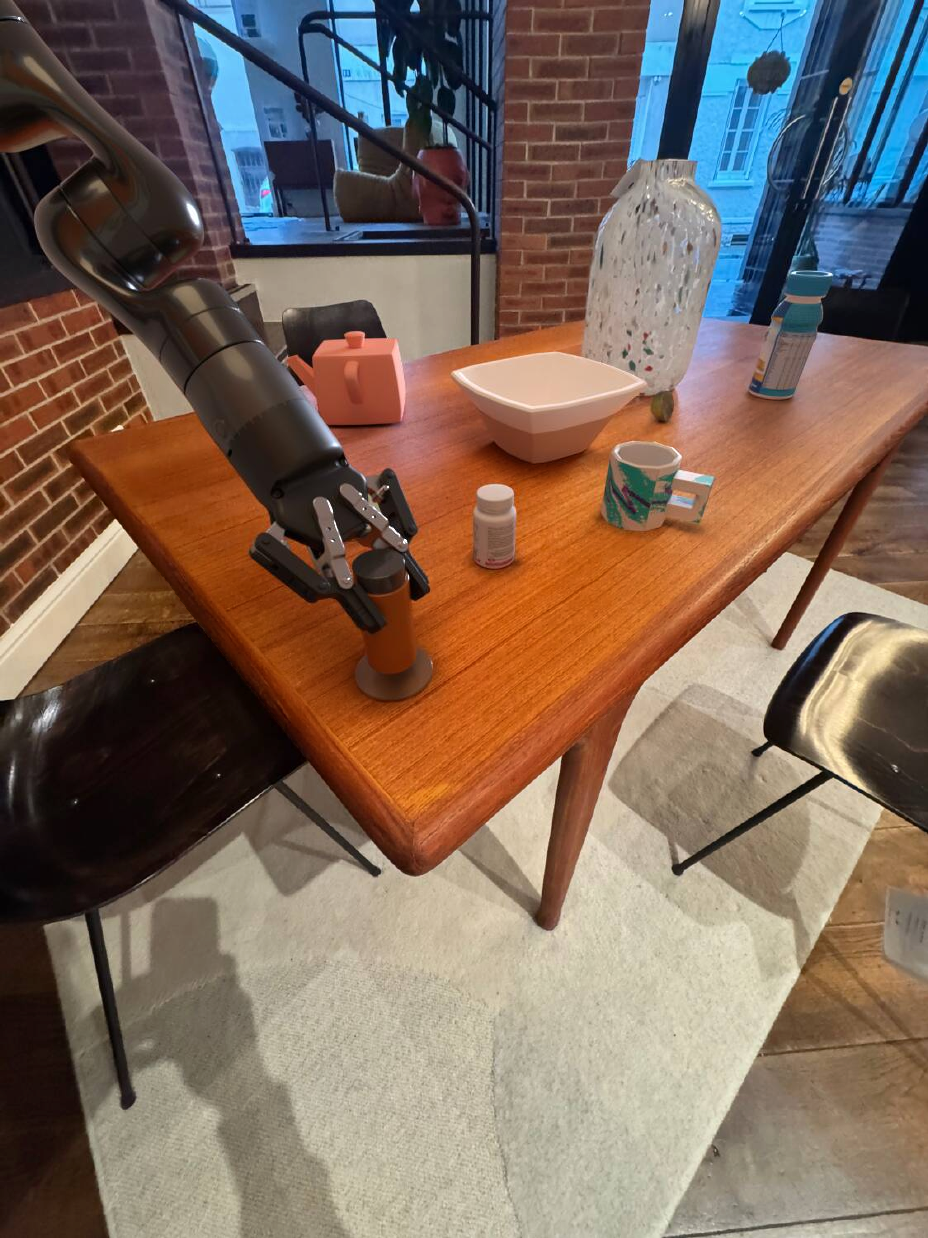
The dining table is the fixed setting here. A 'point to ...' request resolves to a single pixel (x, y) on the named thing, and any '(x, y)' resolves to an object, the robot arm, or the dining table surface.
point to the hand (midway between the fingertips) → (401, 612)
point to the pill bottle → (494, 526)
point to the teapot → (355, 380)
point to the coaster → (394, 679)
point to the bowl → (546, 401)
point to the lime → (662, 405)
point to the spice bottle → (387, 609)
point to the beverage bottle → (790, 336)
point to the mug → (651, 487)
